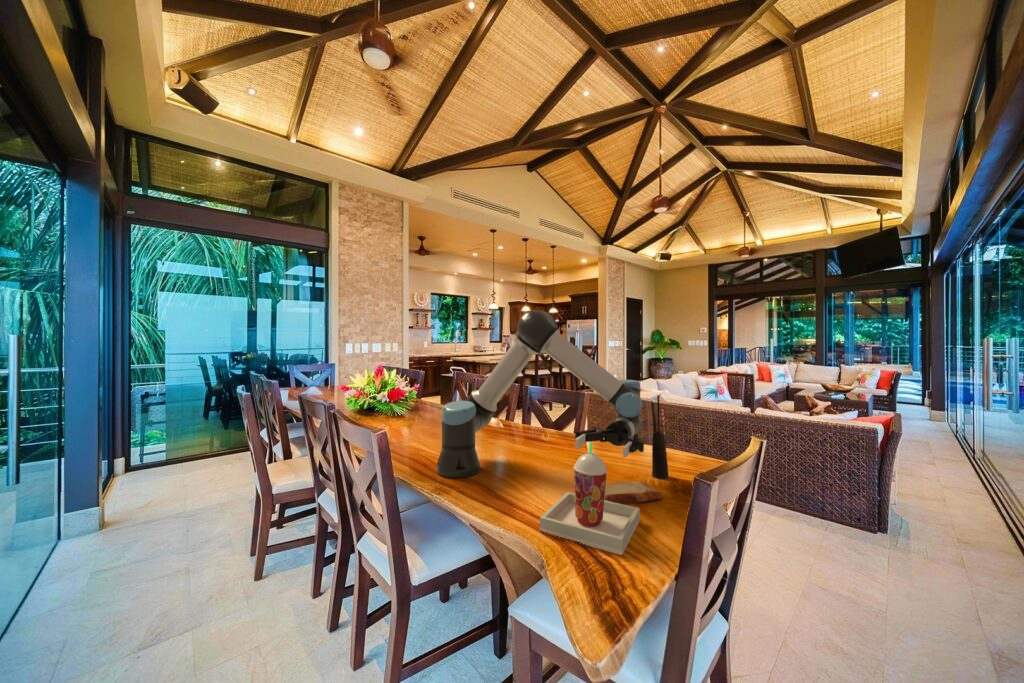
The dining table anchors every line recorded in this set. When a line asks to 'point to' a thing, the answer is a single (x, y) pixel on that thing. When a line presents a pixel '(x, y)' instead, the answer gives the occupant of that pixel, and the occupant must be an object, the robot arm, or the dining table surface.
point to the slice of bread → (631, 492)
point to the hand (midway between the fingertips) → (599, 448)
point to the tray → (605, 536)
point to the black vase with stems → (659, 453)
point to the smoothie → (589, 488)
